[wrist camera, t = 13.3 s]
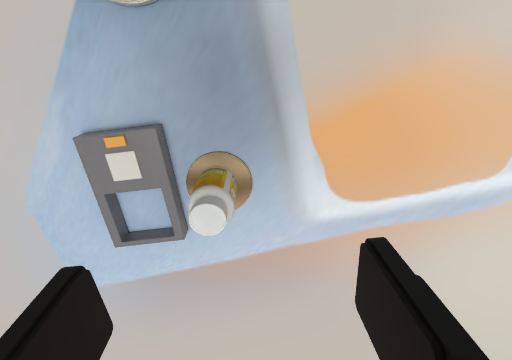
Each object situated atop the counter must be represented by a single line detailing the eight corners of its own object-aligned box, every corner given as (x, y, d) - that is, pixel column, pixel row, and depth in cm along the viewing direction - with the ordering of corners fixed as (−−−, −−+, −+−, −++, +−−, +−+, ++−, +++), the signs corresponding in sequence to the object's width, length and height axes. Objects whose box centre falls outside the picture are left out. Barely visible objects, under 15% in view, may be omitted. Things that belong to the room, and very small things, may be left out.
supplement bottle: (244, 182, 37) (244, 219, 28) (219, 207, 38) (211, 250, 30) (215, 157, 35) (204, 188, 27) (189, 184, 37) (171, 222, 28)
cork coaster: (180, 156, 36) (179, 157, 35) (247, 148, 36) (247, 149, 35) (194, 214, 39) (193, 216, 39) (255, 207, 39) (255, 209, 39)
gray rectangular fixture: (84, 133, 34) (70, 138, 32) (161, 124, 34) (154, 128, 31) (122, 237, 41) (113, 249, 38) (187, 229, 40) (183, 241, 38)
